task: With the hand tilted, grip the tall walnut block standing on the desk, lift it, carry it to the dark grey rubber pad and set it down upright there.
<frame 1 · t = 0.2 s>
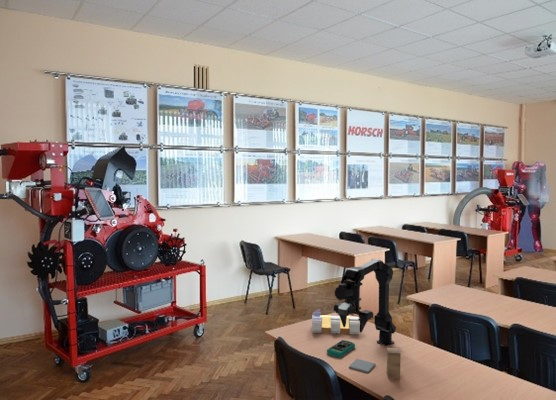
hand: (352, 329, 193), 14 cm above the table, tool pointing down, fingers open, 9 cm apart
grey pad: (362, 366, 188), on the table
grey yellow long block: (335, 331, 230), on the table
digital multimeter: (341, 352, 204), on the table
walnut block: (393, 375, 179), on the table
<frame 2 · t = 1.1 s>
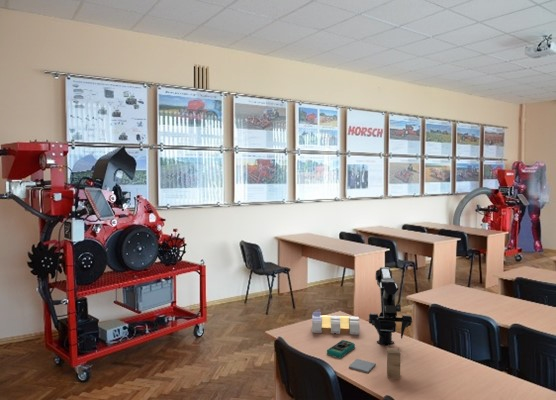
hand: (391, 337, 186), 13 cm above the table, tool tilted 45°, fingers open, 9 cm apart
nothing on the table moved.
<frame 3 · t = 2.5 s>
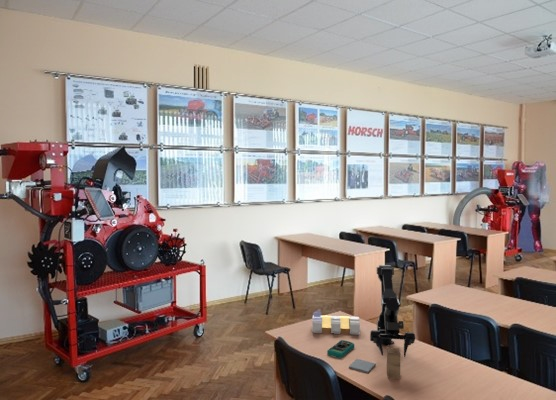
hand: (393, 356, 179), 8 cm above the table, tool tilted 45°, fingers open, 9 cm apart
nothing on the table moved.
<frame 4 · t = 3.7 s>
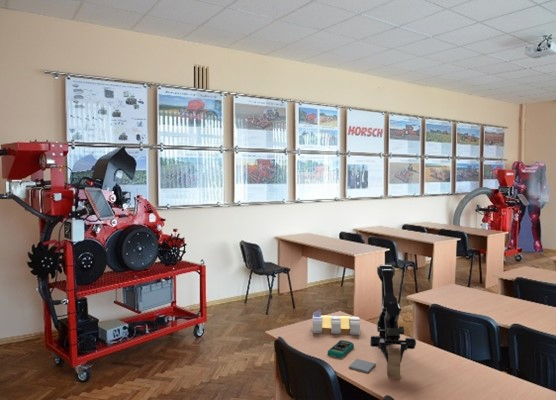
hand: (394, 362, 177), 7 cm above the table, tool tilted 45°, fingers closed on walnut block, 5 cm apart
walnut block: (393, 375, 179), on the table, touching gripper
everything else where it was.
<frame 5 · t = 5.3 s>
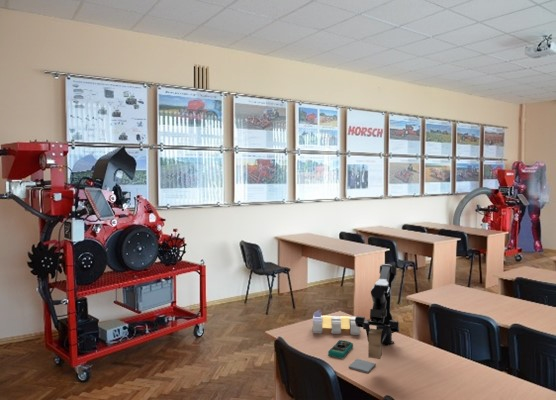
hand: (374, 342, 181), 13 cm above the table, tool tilted 45°, fingers closed on walnut block, 5 cm apart
walnut block: (375, 356, 183), point 7 cm above the table, touching gripper
everything else where it was.
when the fingers open (9 cm above the table, at t = 6.9 s): walnut block drops 2 cm, resting on grey pad.
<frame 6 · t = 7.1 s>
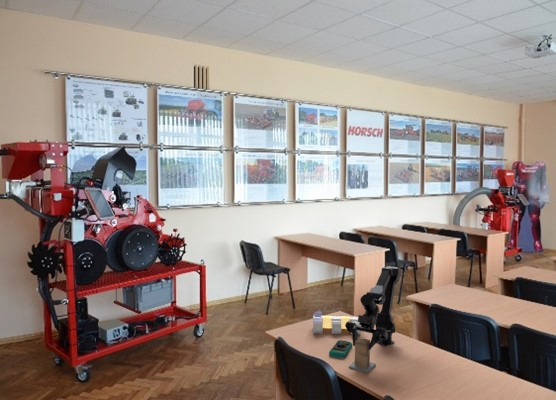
hand: (361, 347, 186), 9 cm above the table, tool tilted 45°, fingers open, 7 cm apart
walnut block: (362, 364, 188), point 1 cm above the table, touching grey pad
everything else where it was.
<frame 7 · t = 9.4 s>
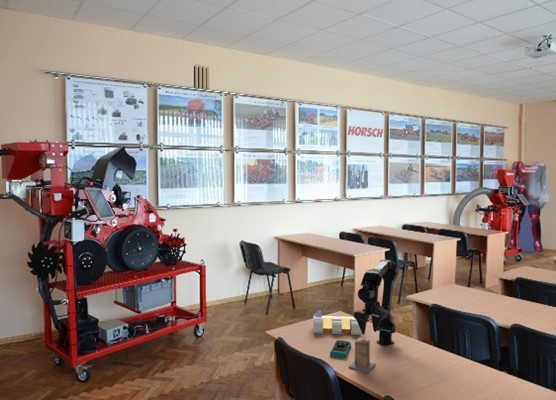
hand: (369, 333, 193), 13 cm above the table, tool pointing down, fingers open, 9 cm apart
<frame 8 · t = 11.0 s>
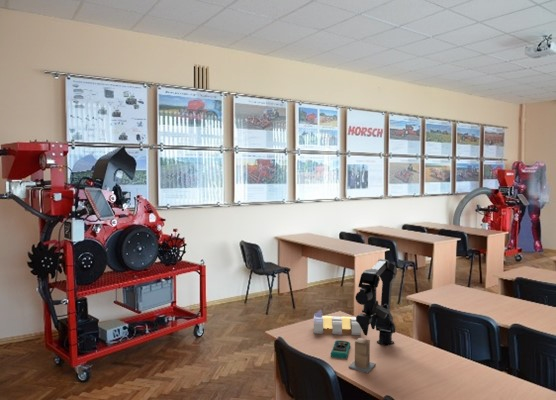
hand: (369, 332, 193), 13 cm above the table, tool pointing down, fingers open, 9 cm apart
at the end: walnut block inside the target area on the grey pad (0.0 cm from its centre), point 0.8 cm above the grey pad's base; walnut block tilted 0°; the gripper is holding nothing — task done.
